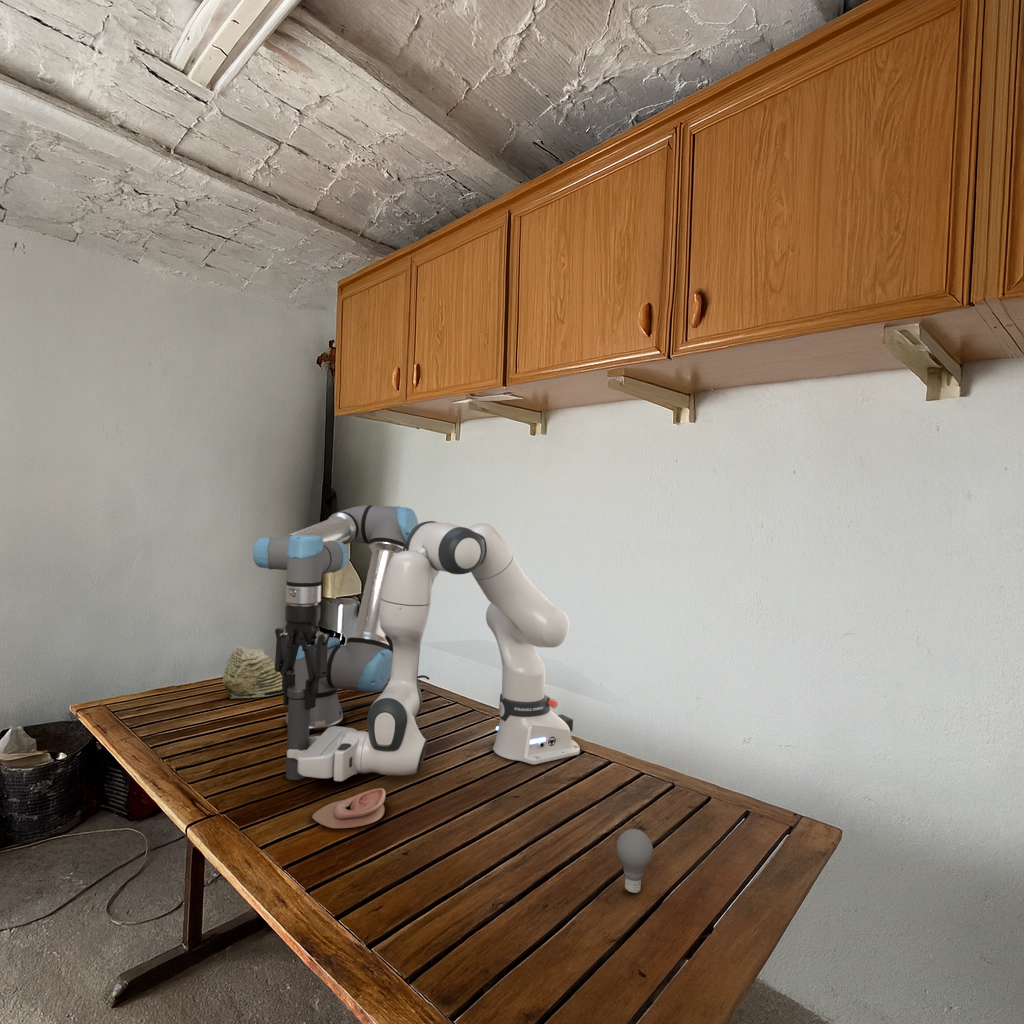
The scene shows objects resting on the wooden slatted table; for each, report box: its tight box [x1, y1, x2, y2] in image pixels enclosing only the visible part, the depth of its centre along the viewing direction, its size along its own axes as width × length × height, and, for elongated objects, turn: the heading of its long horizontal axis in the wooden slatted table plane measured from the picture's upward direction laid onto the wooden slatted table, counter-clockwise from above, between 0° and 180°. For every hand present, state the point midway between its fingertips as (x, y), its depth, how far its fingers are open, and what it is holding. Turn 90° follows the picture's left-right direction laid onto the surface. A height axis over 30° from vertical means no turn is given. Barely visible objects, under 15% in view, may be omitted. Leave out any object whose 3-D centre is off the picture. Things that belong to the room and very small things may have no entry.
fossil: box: [222, 646, 284, 699], centre depth 198 cm, size 9×18×15 cm, turn 132°
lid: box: [287, 683, 306, 699], centre depth 143 cm, size 5×5×2 cm
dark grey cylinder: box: [285, 698, 310, 781], centre depth 143 cm, size 5×5×20 cm
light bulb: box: [615, 828, 654, 894], centre depth 106 cm, size 6×6×10 cm
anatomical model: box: [311, 787, 387, 829], centre depth 126 cm, size 13×4×12 cm
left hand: (299, 705), depth 143 cm, fingers open, 5 cm apart
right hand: (293, 747), depth 143 cm, fingers closed on dark grey cylinder, 5 cm apart
